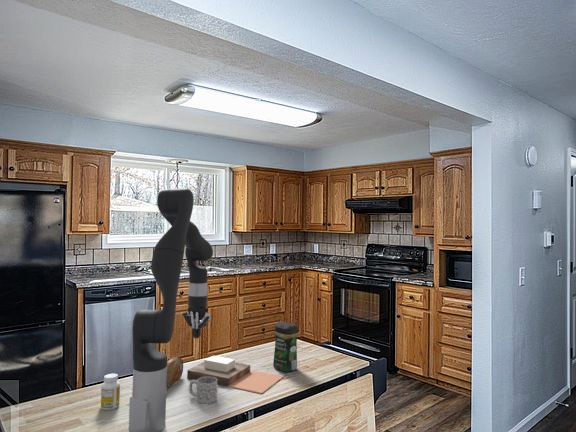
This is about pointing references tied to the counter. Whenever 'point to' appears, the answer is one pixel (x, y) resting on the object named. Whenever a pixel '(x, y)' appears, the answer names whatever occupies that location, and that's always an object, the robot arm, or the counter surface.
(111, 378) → the supplement bottle
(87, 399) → the counter surface
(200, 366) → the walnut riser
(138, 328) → the robot arm
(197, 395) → the mug
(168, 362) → the tin
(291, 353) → the coffee jar
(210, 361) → the cream block
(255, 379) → the terracotta mat
